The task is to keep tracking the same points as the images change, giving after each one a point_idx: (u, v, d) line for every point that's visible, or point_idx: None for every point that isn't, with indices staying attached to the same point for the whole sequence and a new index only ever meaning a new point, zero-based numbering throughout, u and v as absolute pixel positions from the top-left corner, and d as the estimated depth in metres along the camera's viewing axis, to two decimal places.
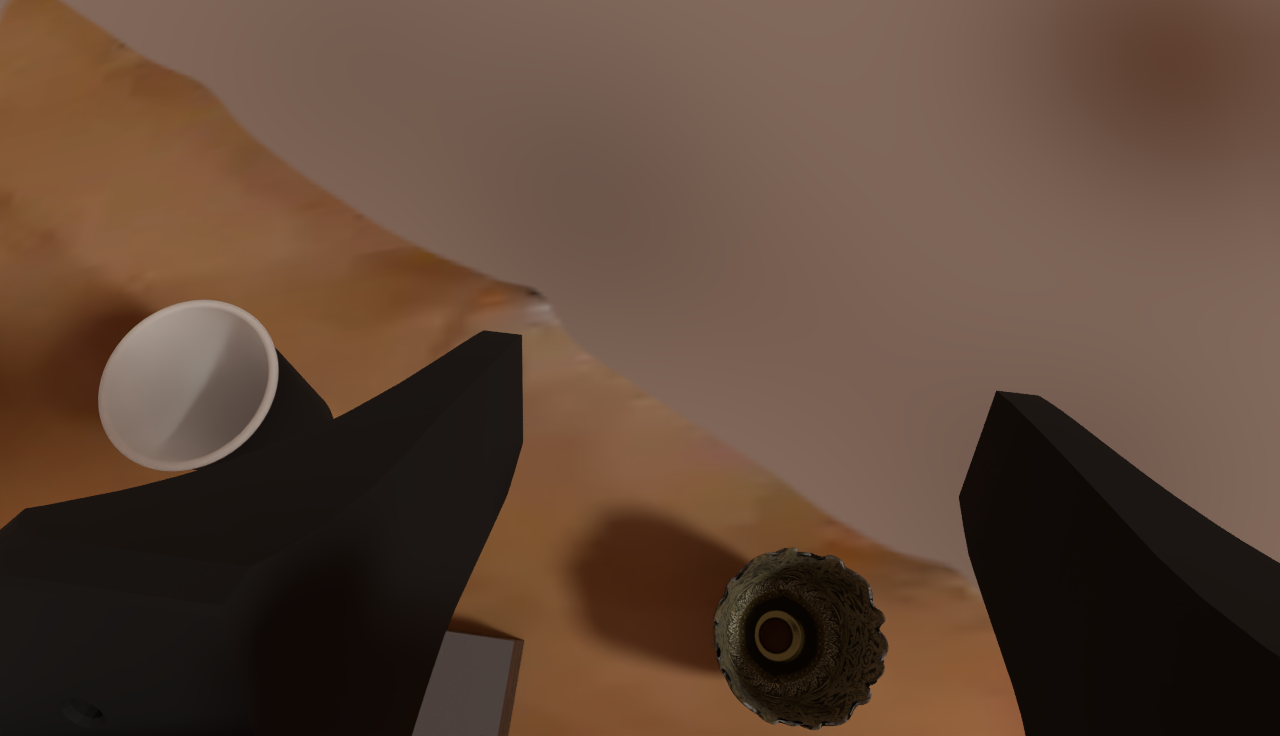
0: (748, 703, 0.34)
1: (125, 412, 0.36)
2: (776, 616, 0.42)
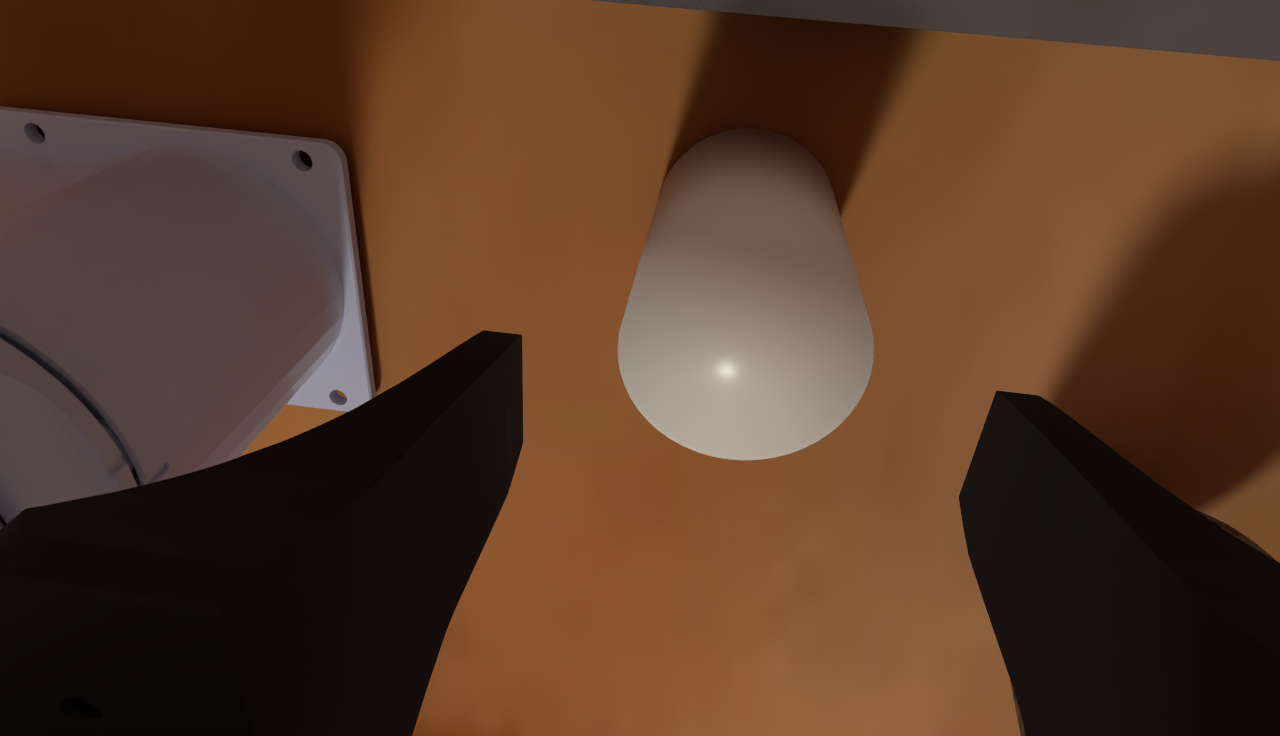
0: None
1: None
2: None
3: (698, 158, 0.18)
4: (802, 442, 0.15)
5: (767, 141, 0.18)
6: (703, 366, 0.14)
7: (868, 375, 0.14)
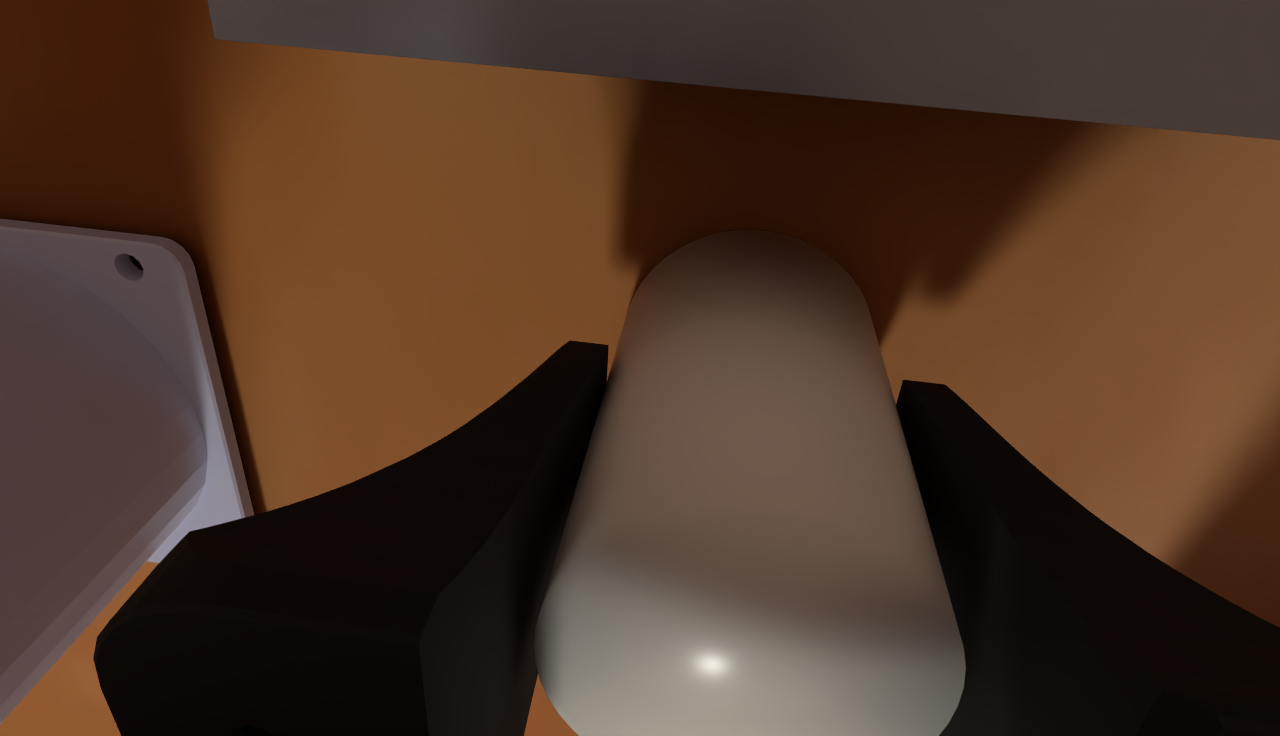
0: None
1: None
2: None
3: (678, 282, 0.12)
4: None
5: (778, 256, 0.12)
6: (676, 681, 0.09)
7: (951, 704, 0.08)
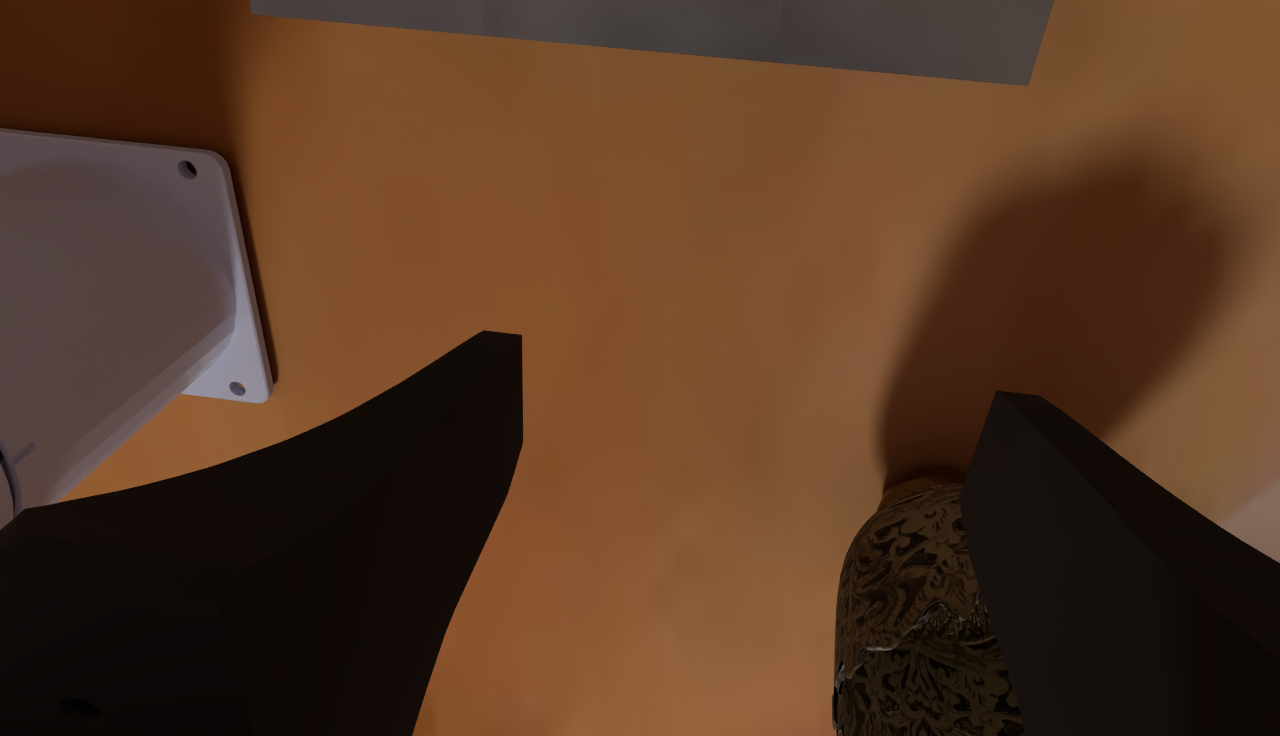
0: None
1: None
2: None
3: None
4: None
5: None
6: None
7: None
